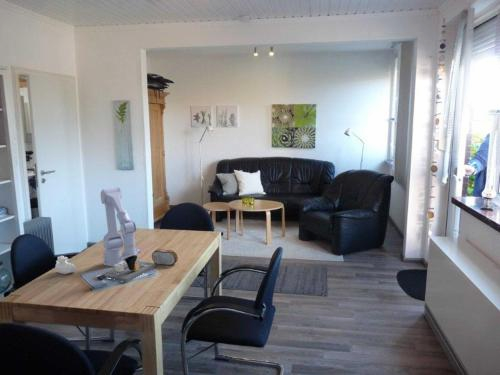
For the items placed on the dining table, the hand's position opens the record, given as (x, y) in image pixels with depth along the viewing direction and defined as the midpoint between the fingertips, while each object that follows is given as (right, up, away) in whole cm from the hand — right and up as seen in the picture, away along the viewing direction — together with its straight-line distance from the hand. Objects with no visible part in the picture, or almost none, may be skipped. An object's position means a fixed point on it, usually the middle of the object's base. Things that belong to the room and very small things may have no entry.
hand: (131, 269), depth 213 cm
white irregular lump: (-38, -3, +7) cm, 38 cm away
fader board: (-2, -3, +5) cm, 6 cm away
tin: (+14, -1, +16) cm, 21 cm away
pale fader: (-7, -1, +2) cm, 7 cm away
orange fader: (+1, -1, +3) cm, 3 cm away
